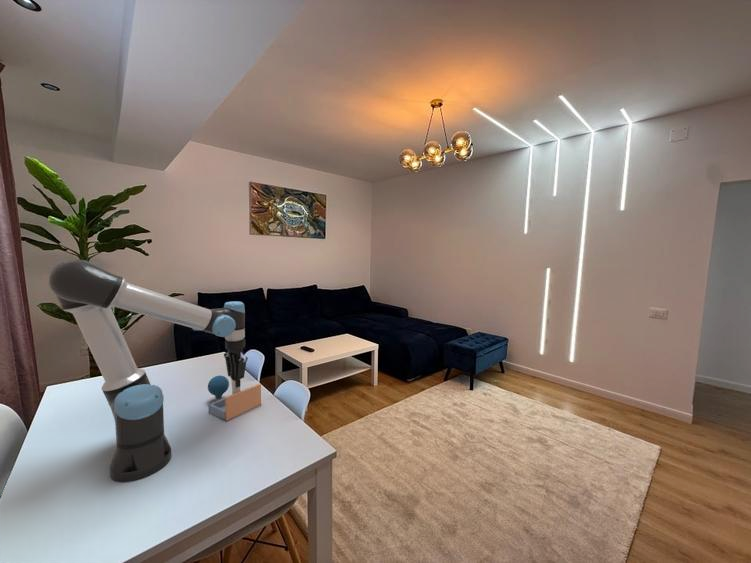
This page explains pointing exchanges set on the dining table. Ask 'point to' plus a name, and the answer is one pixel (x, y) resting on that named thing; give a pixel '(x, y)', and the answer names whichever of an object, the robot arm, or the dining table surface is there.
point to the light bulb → (218, 386)
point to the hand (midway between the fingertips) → (236, 393)
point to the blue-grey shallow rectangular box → (218, 409)
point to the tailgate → (242, 402)
